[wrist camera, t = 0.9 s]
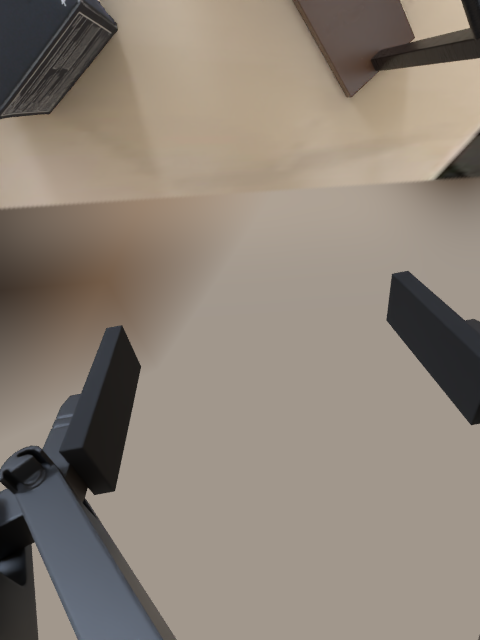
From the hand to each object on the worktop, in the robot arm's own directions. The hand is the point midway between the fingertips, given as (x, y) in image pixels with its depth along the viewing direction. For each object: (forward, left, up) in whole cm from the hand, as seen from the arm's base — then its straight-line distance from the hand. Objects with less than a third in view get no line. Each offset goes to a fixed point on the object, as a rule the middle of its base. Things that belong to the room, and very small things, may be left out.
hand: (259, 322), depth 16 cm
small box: (-19, -8, -27) cm, 33 cm away
